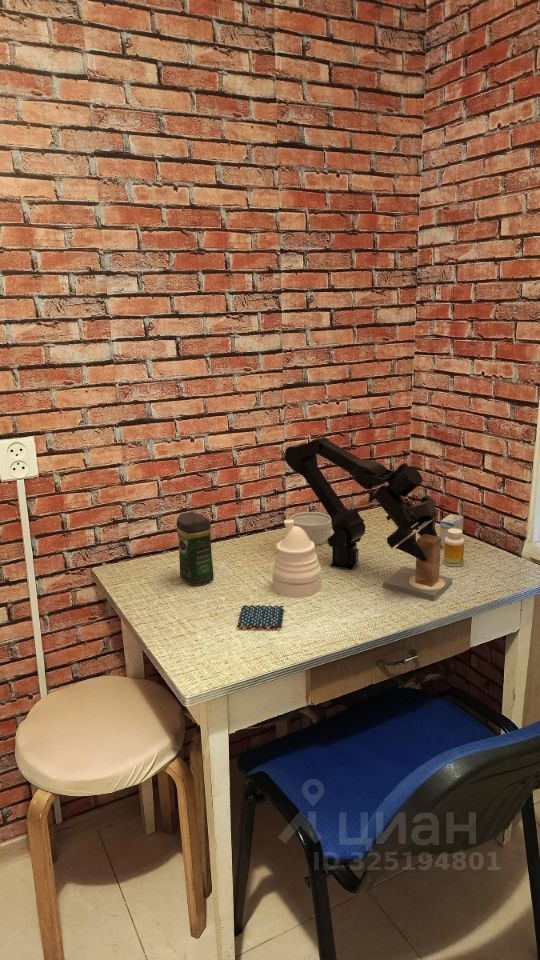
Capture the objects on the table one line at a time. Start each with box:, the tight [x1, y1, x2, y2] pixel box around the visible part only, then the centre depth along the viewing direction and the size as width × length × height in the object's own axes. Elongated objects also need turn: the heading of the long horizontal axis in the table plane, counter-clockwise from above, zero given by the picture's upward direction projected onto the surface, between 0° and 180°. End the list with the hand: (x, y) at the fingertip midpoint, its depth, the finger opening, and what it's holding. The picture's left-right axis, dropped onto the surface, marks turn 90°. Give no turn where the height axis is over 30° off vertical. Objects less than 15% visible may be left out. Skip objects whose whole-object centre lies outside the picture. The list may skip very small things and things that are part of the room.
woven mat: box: [236, 604, 285, 632], centre depth 152 cm, size 10×11×2 cm
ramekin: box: [289, 511, 332, 546], centre depth 201 cm, size 13×13×7 cm
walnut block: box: [415, 534, 442, 587], centre depth 164 cm, size 4×4×12 cm
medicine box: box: [438, 513, 464, 550], centre depth 193 cm, size 8×4×9 cm, turn 144°
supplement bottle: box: [442, 528, 465, 567], centre depth 180 cm, size 5×5×10 cm
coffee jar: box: [176, 510, 215, 586], centre depth 173 cm, size 10×8×19 cm
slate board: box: [382, 565, 453, 602], centre depth 168 cm, size 14×12×2 cm
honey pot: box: [271, 519, 323, 598], centre depth 167 cm, size 13×13×18 cm
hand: (433, 554), depth 163 cm, fingers open, 9 cm apart
